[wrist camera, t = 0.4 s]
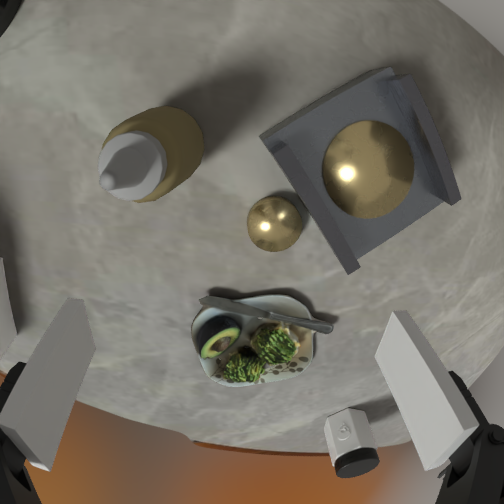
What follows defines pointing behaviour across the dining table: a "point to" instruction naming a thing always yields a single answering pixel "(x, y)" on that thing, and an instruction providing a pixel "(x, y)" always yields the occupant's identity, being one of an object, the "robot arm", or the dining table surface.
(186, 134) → the squeeze bottle
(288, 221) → the brass dome knob
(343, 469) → the jar
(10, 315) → the white notched stand
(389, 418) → the dining table surface
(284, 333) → the avocado toast plate
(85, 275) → the dining table surface
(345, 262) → the grey rimmed block
